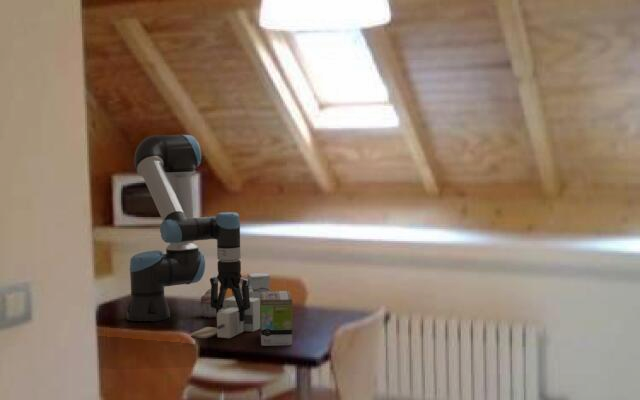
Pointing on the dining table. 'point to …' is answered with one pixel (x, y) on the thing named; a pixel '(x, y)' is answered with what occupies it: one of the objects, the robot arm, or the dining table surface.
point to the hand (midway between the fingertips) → (230, 329)
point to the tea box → (276, 318)
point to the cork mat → (205, 332)
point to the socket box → (247, 313)
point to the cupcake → (207, 305)
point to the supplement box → (259, 283)
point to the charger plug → (227, 323)
